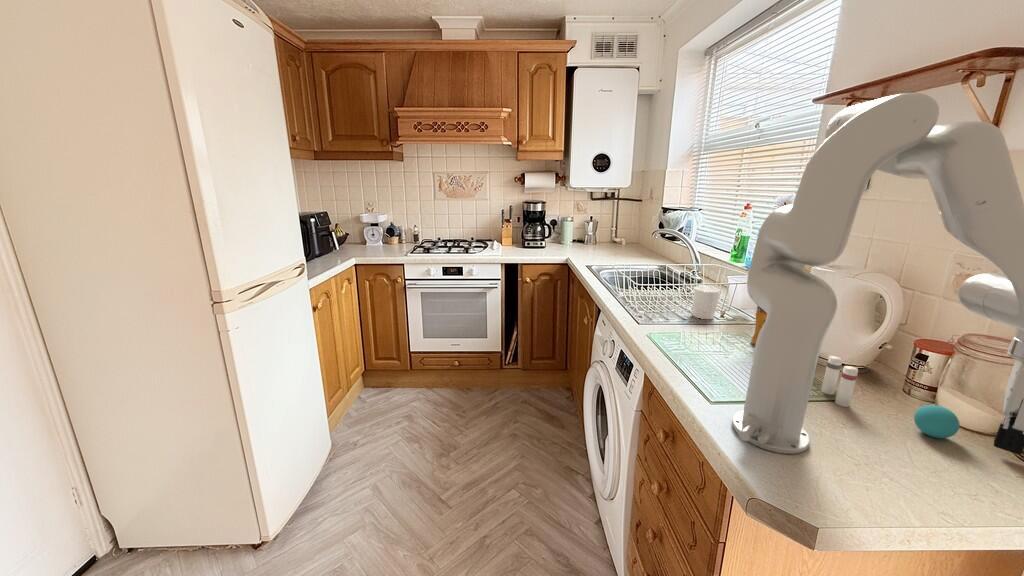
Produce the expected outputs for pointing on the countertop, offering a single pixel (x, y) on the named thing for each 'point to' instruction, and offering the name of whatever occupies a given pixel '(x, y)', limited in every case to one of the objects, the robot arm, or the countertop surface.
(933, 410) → the teal egg
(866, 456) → the countertop surface
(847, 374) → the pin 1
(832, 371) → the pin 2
